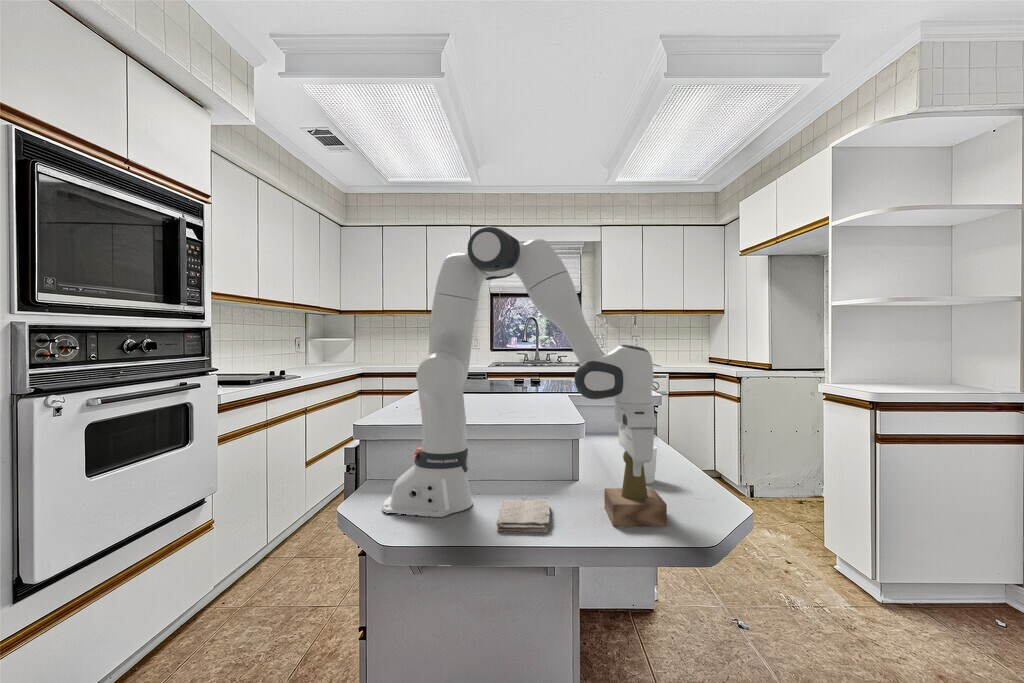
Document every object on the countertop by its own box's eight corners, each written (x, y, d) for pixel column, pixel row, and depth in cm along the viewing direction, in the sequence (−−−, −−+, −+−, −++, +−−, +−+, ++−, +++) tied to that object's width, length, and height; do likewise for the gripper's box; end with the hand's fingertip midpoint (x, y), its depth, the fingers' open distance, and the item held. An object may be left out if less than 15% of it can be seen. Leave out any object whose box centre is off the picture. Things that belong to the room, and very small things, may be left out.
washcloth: (495, 535, 116) (495, 521, 116) (502, 508, 134) (501, 495, 134) (550, 536, 115) (550, 522, 115) (549, 508, 133) (549, 496, 133)
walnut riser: (613, 526, 120) (613, 504, 119) (604, 508, 132) (604, 488, 131) (666, 526, 119) (666, 504, 119) (653, 508, 131) (653, 488, 131)
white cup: (656, 485, 151) (656, 450, 150) (628, 483, 153) (628, 448, 152) (656, 478, 158) (657, 444, 158) (629, 476, 160) (629, 443, 160)
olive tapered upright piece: (648, 500, 122) (648, 452, 122) (622, 499, 123) (622, 452, 123) (646, 492, 128) (646, 447, 128) (620, 491, 129) (620, 446, 129)
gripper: (612, 407, 135) (612, 461, 136) (629, 421, 115) (629, 484, 115) (637, 407, 135) (637, 461, 136) (658, 421, 115) (658, 484, 115)
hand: (633, 472), depth 125 cm, fingers open, 4 cm apart
